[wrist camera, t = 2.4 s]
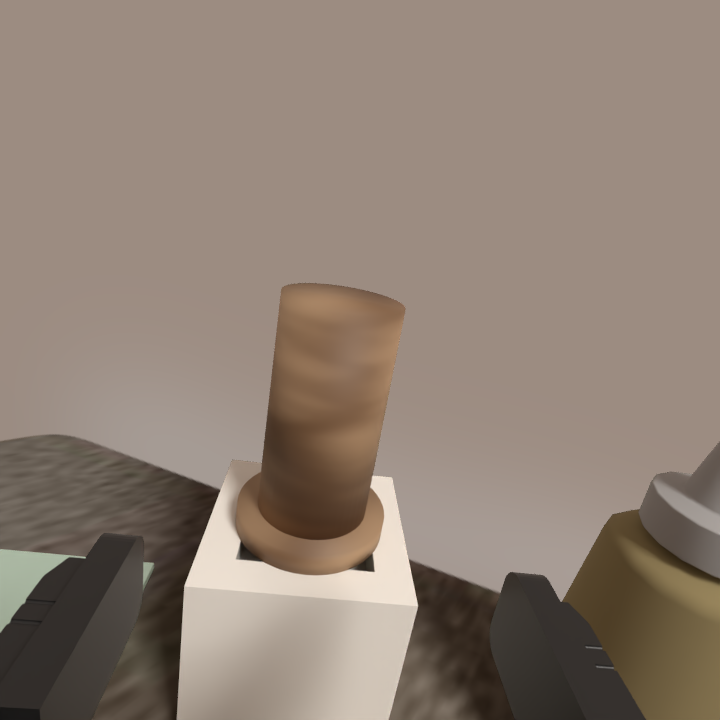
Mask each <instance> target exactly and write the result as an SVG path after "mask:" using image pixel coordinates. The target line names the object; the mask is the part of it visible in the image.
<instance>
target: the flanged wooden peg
mask: <svg viewBox="0 0 720 720" xmlns="http://www.w3.org/2000/svg"><path fill="white" fill-rule="evenodd" d="M404 314H405V307H404V305H402V304H401V303H400V302H398V301H396V300H394V299H391V298H389V297H386V296H383V295H380V294H377V293H373V292H369V291H365V290H360V289H356V288H350V287H344V286H337V285H329V284H317V283H298V284H290V285H287V286H284V287H282V289H281V297H280V306H279V315H278V324H277V333H276V342H275V351H274V360H273V369H272V379H271V387H270V396H269V405H268V415H267V423H266V432H265V441H264V450H263V459H262V468H261V472H260V473H258V474H256V475H255V476H253V477H252V478H251V479H249V480H248V481H247V482H246V483H245V484H244V486H243V487H242V489H241V491H240V493H239V495H238V500H237V510H236V530H237V533H238V536H239V538H240V540H241V542H242V543H243V545H244V546H245V547H246V548H247V549H248V550H249V551H250V552H251V553H252V554H253V555H254V556H255V557H257V558H258V559H260V560H261V561H263V562H264V563H266V564H268V565H270V566H273V567H275V568H278V569H280V570H283V571H287V572H291V573H295V574H302V575H329V574H335V573H339V572H343V571H346V570H349V569H351V568H354V567H356V566H358V565H359V564H361V563H363V562H364V561H365V560H366V559H368V558H369V557H370V556H371V555H372V553H373V552H374V551H375V549H376V547H377V546H378V543H379V540H380V535H381V531H382V526H383V521H384V509H383V505H382V503H381V501H380V499H379V497H378V496H377V494H376V493H375V492H374V491H373V489H372V488H371V487H370V486H371V481H372V476H373V470H374V466H375V461H376V456H377V450H378V446H379V440H380V435H381V430H382V425H383V420H384V415H385V410H386V405H387V400H388V395H389V390H390V385H391V380H392V374H393V369H394V365H395V360H396V355H397V349H398V345H399V340H400V335H401V329H402V324H403V319H404Z"/></svg>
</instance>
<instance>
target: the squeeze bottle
mask: <svg viewBox="0 0 720 720" xmlns="http://www.w3.org/2000/svg"><path fill="white" fill-rule="evenodd" d="M562 602H568V603H569V604H570V605H571V606H572V607H573V608H574V609H575V610H576V611H577V612H578V613H579V614H580V615H581V616H582V617H583V618H584V619H585V620H586V621H587V622H588V623H589V624H590V626H591V628H592V629H593V631H594V633H595V634H596V636H597V638H598V639H599V641H600V643H601V645H602V649H603V651H606V653H607V655H608V656H609V658H610V660H611V661H612V663H613V665H614V670H615V671H617V672H618V673H619V675H620V677H621V678H622V680H623V682H624V683H625V685H626V687H627V688H628V690H629V692H630V693H631V695H632V697H633V699H634V700H635V702H636V704H637V705H638V707H639V709H640V710H641V712H642V714H643V715H644V717H645V719H646V720H720V442H719V443H718V444H717V445H716V447H715V448H714V449H713V450H712V451H711V453H710V454H709V455H708V456H707V457H706V459H705V460H704V461H703V462H702V463H701V465H700V466H699V467H698V468H697V470H696V471H695V472H694V473H693V474H686V473H679V472H667V473H661V474H657V475H656V476H655V477H654V479H653V480H652V481H651V483H650V486H649V488H648V491H647V493H646V496H645V498H644V500H643V503H642V505H641V507H640V509H639V510H631V511H626V512H622V513H617V514H613V515H612V516H611V517H610V519H609V520H608V521H607V523H606V524H605V525H604V527H603V529H602V530H601V532H600V534H599V536H598V538H597V539H596V542H595V543H594V545H593V547H592V549H591V550H590V552H589V554H588V556H587V558H586V559H585V561H584V563H583V565H582V567H581V568H580V570H579V572H578V574H577V576H576V577H575V579H574V581H573V583H572V585H571V587H570V588H569V590H568V592H567V594H566V596H565V597H564V599H563V601H562Z"/></svg>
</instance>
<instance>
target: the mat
mask: <svg viewBox="0 0 720 720" xmlns="http://www.w3.org/2000/svg"><path fill="white" fill-rule="evenodd" d="M69 557H75V558H86V557H81V556H70V555H59V554H48V553H37V552H25V551H14V550H3V549H0V632H1V631H2V630H3V628H4V627H5V626H6V625H7V624H9V623H10V621H11V618H12V617H13V615H14V614H15V613H16V611H17V610H18V609H19V607H20V606H21V605H22V604H24V603H25V601H26V598H27V597H28V596H29V594H30V593H31V592H32V590H33V589H34V588H35V586H36V585H37V584H38V582H39V581H40V580H41V578H42V577H43V576H44V575H45V574H46V573H48V572H49V571H51V570H52V569H53V568H55V567H56V566H58V565H59V564H60V563H62V562H63V561H64V560H66V559H67V558H69ZM153 569H154V563H148V562H143V590H144V588H145V586H146V584H147V582H148V580H149V578H150V576H151V574H152V571H153Z"/></svg>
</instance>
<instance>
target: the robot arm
mask: <svg viewBox="0 0 720 720" xmlns="http://www.w3.org/2000/svg"><path fill="white" fill-rule="evenodd" d="M143 561H144V540H143V537H142V536H133V535H123V534H112V533H104V534H102V535H101V536H100V538H99V539H98V540H97V542H96V543H95V545H94V546H93V548H92V549H91V551H90V552H89V554H88V555H87V556H86V558H75V557H69V558H67V559H66V560H64V561H63V562H62V563H60V564H59V565H58V566H56V567H55V568H53V569H52V570H51V571H49V572H48V573H46V574H45V575H44V576H43V577H42V578H41V580H40V581H39V582H38V584H37V585H36V586H35V588H34V589H33V590H32V592H31V593H30V594H29V596H28V597H27V598H26V601H25V603H24V604H22V605H21V606H20V607H19V609H18V610H17V611H16V613H15V614H14V615H13V617H12V618H11V621H10V623H9V624H7V625H6V626H5V627H4V628H3V630H2V631H1V632H0V720H91V719H92V717H93V715H94V713H95V711H96V709H97V706H98V704H99V702H100V700H101V698H102V695H103V693H104V691H105V689H106V687H107V685H108V682H109V680H110V678H111V676H112V674H113V672H114V669H115V667H116V665H117V663H118V661H119V659H120V656H121V654H122V652H123V650H124V648H125V645H126V643H127V641H128V639H129V637H130V635H131V632H132V630H133V628H134V626H135V623H136V621H137V618H138V615H139V611H140V607H141V602H142V596H143ZM490 645H491V651H492V655H493V658H494V661H495V664H496V666H497V669H498V672H499V675H500V678H501V681H502V684H503V687H504V690H505V693H506V696H507V698H508V701H509V704H510V707H511V710H512V713H513V716H514V719H515V720H646V719H645V717H644V715H643V714H642V712H641V710H640V709H639V707H638V705H637V704H636V702H635V700H634V699H633V697H632V695H631V693H630V692H629V690H628V688H627V687H626V685H625V683H624V682H623V680H622V678H621V677H620V675H619V673H618V672H617V671H615V670H614V665H613V663H612V661H611V660H610V658H609V656H608V655H607V653H606V651H603V649H602V645H601V643H600V641H599V639H598V638H597V636H596V634H595V633H594V631H593V629H592V628H591V626H590V624H589V623H588V622H587V621H586V620H585V619H584V618H583V617H582V616H581V615H580V614H579V613H578V612H577V611H576V610H575V609H574V608H573V607H572V606H571V605H570V604H569V603H568V602H560V600H559V599H558V597H557V595H556V593H555V591H554V589H553V588H552V586H551V584H550V582H549V581H548V580H547V578H546V577H545V576H543V575H536V574H525V573H514V572H510V573H509V574H508V575H507V576H506V578H505V581H504V584H503V587H502V590H501V593H500V596H499V600H498V603H497V606H496V609H495V612H494V615H493V618H492V621H491V626H490Z"/></svg>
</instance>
